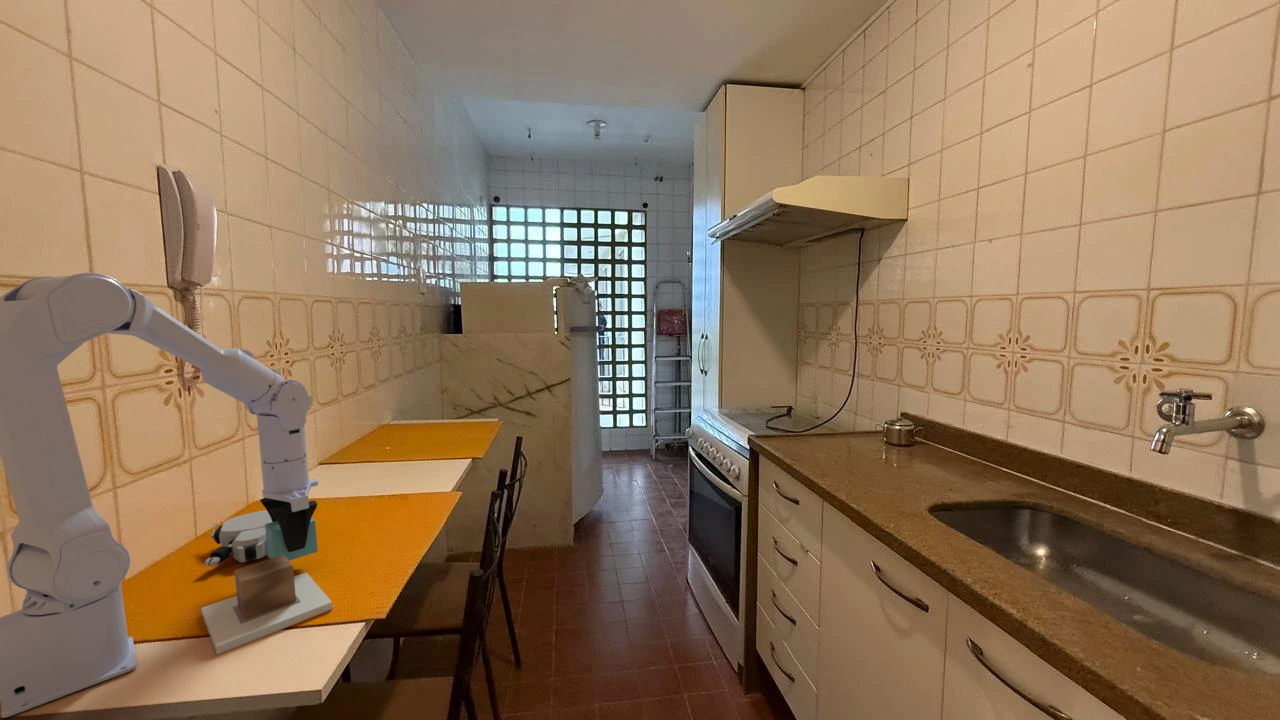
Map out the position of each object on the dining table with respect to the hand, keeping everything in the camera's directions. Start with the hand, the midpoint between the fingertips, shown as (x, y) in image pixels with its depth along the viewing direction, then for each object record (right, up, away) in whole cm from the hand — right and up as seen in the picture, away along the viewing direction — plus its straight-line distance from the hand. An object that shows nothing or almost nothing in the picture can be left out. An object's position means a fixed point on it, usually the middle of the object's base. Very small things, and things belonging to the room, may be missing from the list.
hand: (292, 544), depth 78 cm
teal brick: (0, -1, 0) cm, 2 cm away
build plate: (+4, -5, -11) cm, 13 cm away
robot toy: (-12, -4, +8) cm, 15 cm away
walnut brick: (+4, -4, -11) cm, 12 cm away
